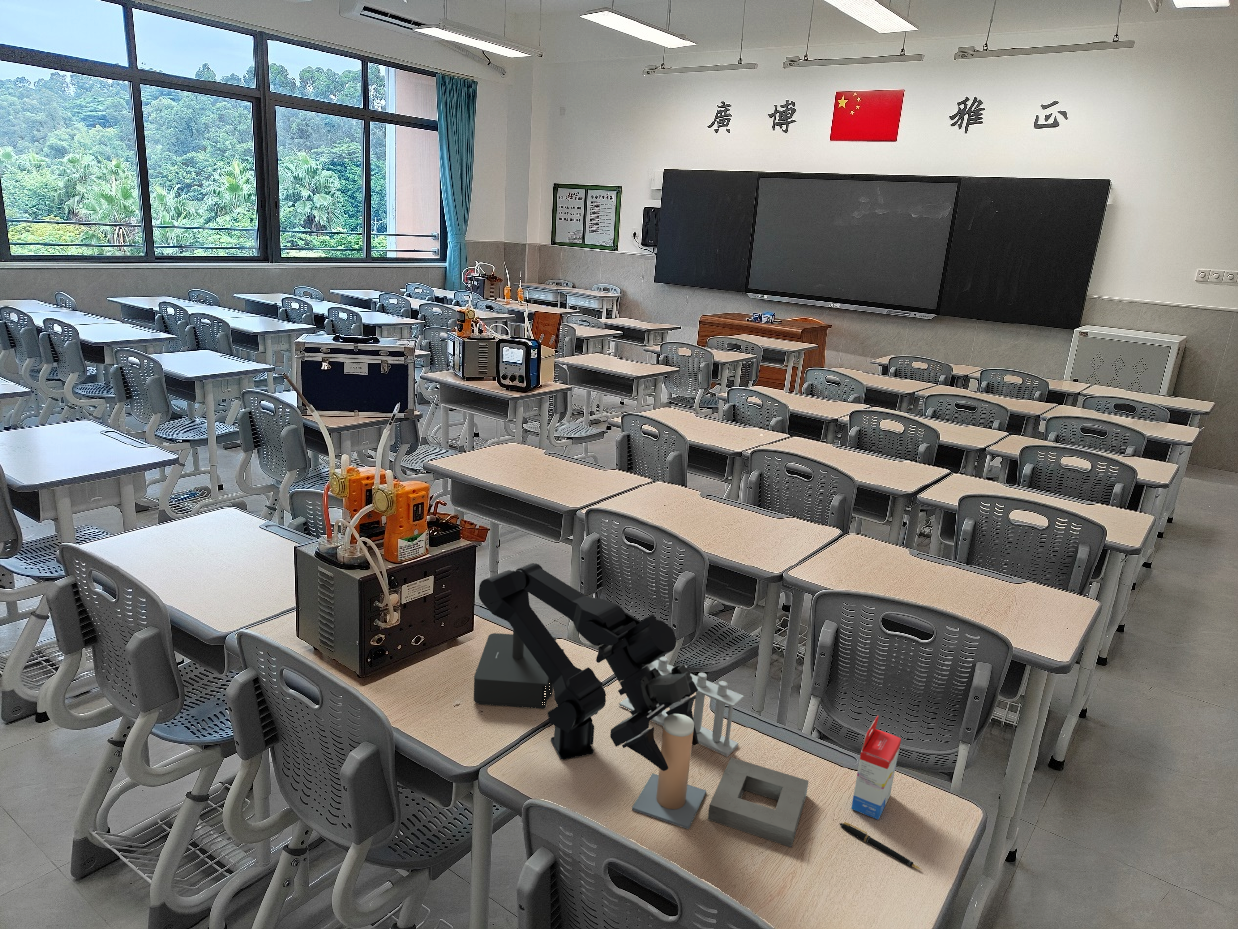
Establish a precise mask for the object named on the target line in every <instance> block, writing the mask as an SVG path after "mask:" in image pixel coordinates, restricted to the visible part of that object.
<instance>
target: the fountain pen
mask: <svg viewBox="0 0 1238 929" xmlns="http://www.w3.org/2000/svg"><path fill="white" fill-rule="evenodd" d="M838 825H840V827H841V829H843V830H845V831H846V832H847V833H849V834H851V835H852V836H854V837H855V838H858V839H859V840H861V841H863V842H864V843H866V844H868V845H870V846H872V847H874V848H875V849H877V850H879V851H880V852H883V853H885V854H886V855H888V856H890V857H892V858H893V859H895V860H897V861H899V862H901V863H902V864H904V865H906V866H909V867H910V866H911V868H912V867H913V868H915V869H916V870H917V869H918V870H921V871H922V870H923V869H922V868H921V867H920V866H918V865H916V864H914V861H912V860H910V859H909V858H907V857H906V856H904V855H902V854H901V853H899V852H897V851H895V850H894V849H893V848H891V847H889V846H887V845H885V844H884V843H882V842H880V841H878V840H876V839H875V838H873V837H871V835H869V834H868V832H867V831H865V830H863V829H861V828H859V827H858V826H855V825H853V824H852V823H849V822H847V821H846V822H845V821H844V822H843V823H841V822H839V824H838Z"/></svg>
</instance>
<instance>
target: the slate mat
mask: <svg viewBox="0 0 1238 929" xmlns="http://www.w3.org/2000/svg"><path fill="white" fill-rule="evenodd" d="M658 776H659V774H656V773H652V774H651V775H650V776H649V778H648V780H647V782H646V784H645V785H644V787H643V789H642V790H641V792H640V793H639V795H638V797H637V799H635V800H636V801H635V802H634V803H633V806H632V808H631V811H634V812H637V813H640V814H642V815H646V816H648V817H650V818H651V817H652V818H654V819H658V820H660V821H662V822H666V823H669V824H671V825H675V826H678V827H681V828H684V829H687V830H690V829H691V828H690V827H691V826H692V823H693V821H694V819H695V817H696V815H697V813H698V811H699V808H700V807H701V804H702V802H703V801H704V798H705V796H706V794H707V790H706V789H703V788H699V787H696V786H693V785H691V784H689V783H688V784H687V793H686V802H685V804H684V806H683V807H681V808H679V809H668V808H665V807H663V806H661V805H660V804H659V803H658V802H657V799H656V796H657V786H658Z"/></svg>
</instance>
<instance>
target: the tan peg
mask: <svg viewBox="0 0 1238 929" xmlns="http://www.w3.org/2000/svg"><path fill="white" fill-rule="evenodd" d="M693 730H694V722H693V720H692V719H691V718H690V717H688V716H686V715H682V714H671V715H668V716H667V717H665V719H664V726H663V728H662V738H661V749H660V751H661V753H662V755H663V757H664V759H665V761H666V763H667V765H668V769H667V770H665V771H662V770H661V769H660V768H658V775H659V776H658V786H657V796H656V799H657V802H658V803H659V804H660V805H661V806H663V807H665V808H668V809H679V808H681V807H683V806H684V804H685V802H686V793H687V784H688V785H689V775H690V774H689V773H690V764H691V763H690V762H691V758H692V755H691V754H692V746H693V745H692V739H693Z"/></svg>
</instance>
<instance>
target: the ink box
mask: <svg viewBox="0 0 1238 929" xmlns="http://www.w3.org/2000/svg"><path fill="white" fill-rule="evenodd" d="M879 718H880V717H879V715H878V714H877V716H876V717H875V719H874V721H873V722H872V723H871V725H870V727H869V729H868V730H867V732H866V733H865V735H864V739H863V742H862V746H861V751H860V756H859V761H858V762H859V763H858V767H857V774H856V780H855V786H854V789H853V797H852V803H851V808H850V809H851V810H853V811H855V812H858V813H861V814H863V815H865V816H868V817H870V818H873V819H875V820H877V821H879V820H880V817H881V815H882V813H883V811H884V809H885V807H886V805H887V802H888V801H889V798H890V797H891V794H892V787H893V783H894V778H895V772H896V767H897V762H898V758H899V752H900V746H901V743H902V742H901V741H902V738H901V737H899V736H897V735H894V734H891V733H888V732H886V731H883V730H880V729H877V726H878V723H879V722H878V721H879Z"/></svg>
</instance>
